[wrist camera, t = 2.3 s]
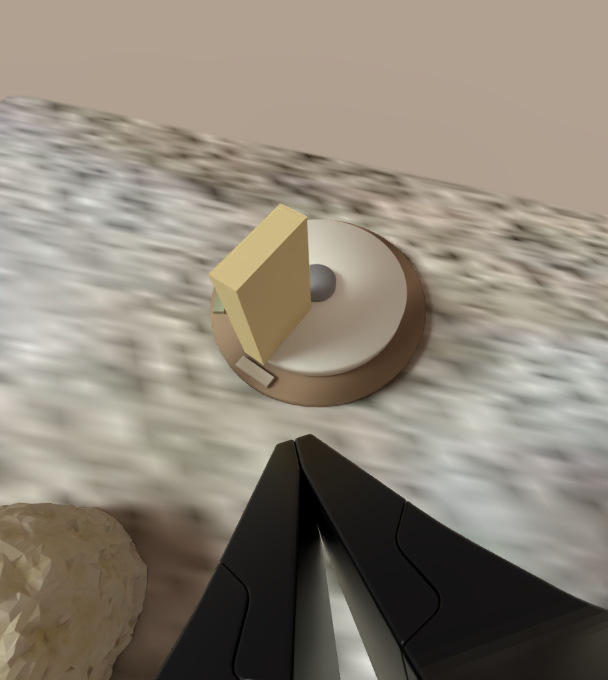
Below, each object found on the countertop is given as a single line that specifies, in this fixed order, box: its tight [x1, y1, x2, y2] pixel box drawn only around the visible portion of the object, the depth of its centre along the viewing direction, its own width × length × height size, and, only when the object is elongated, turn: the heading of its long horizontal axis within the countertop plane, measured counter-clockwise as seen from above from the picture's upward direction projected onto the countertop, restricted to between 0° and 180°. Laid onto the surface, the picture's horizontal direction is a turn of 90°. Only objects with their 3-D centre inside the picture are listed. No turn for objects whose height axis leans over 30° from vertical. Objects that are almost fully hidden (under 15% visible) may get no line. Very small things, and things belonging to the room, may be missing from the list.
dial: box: [209, 203, 407, 376], centre depth 19 cm, size 11×12×8 cm
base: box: [210, 221, 426, 407], centre depth 23 cm, size 14×14×1 cm
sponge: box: [0, 503, 147, 680], centre depth 15 cm, size 9×10×10 cm
